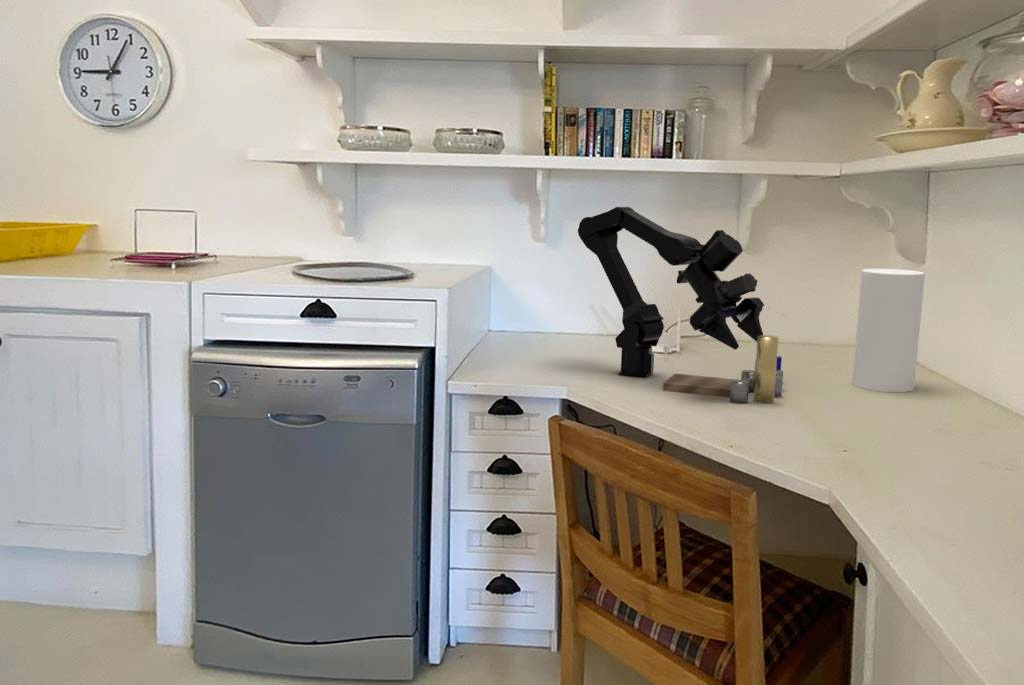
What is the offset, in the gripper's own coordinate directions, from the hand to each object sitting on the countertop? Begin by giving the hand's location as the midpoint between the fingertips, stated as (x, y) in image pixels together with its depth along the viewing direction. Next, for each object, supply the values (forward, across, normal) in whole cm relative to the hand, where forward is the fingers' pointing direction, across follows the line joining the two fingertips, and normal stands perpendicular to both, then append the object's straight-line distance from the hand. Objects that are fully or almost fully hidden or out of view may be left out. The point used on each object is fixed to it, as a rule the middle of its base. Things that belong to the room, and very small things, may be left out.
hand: (750, 345), depth 185 cm
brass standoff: (+10, 0, +5) cm, 11 cm away
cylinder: (+16, +33, -1) cm, 37 cm away
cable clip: (+2, +20, +14) cm, 25 cm away
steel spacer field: (+8, +3, +8) cm, 11 cm away
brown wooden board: (0, -1, +15) cm, 15 cm away
